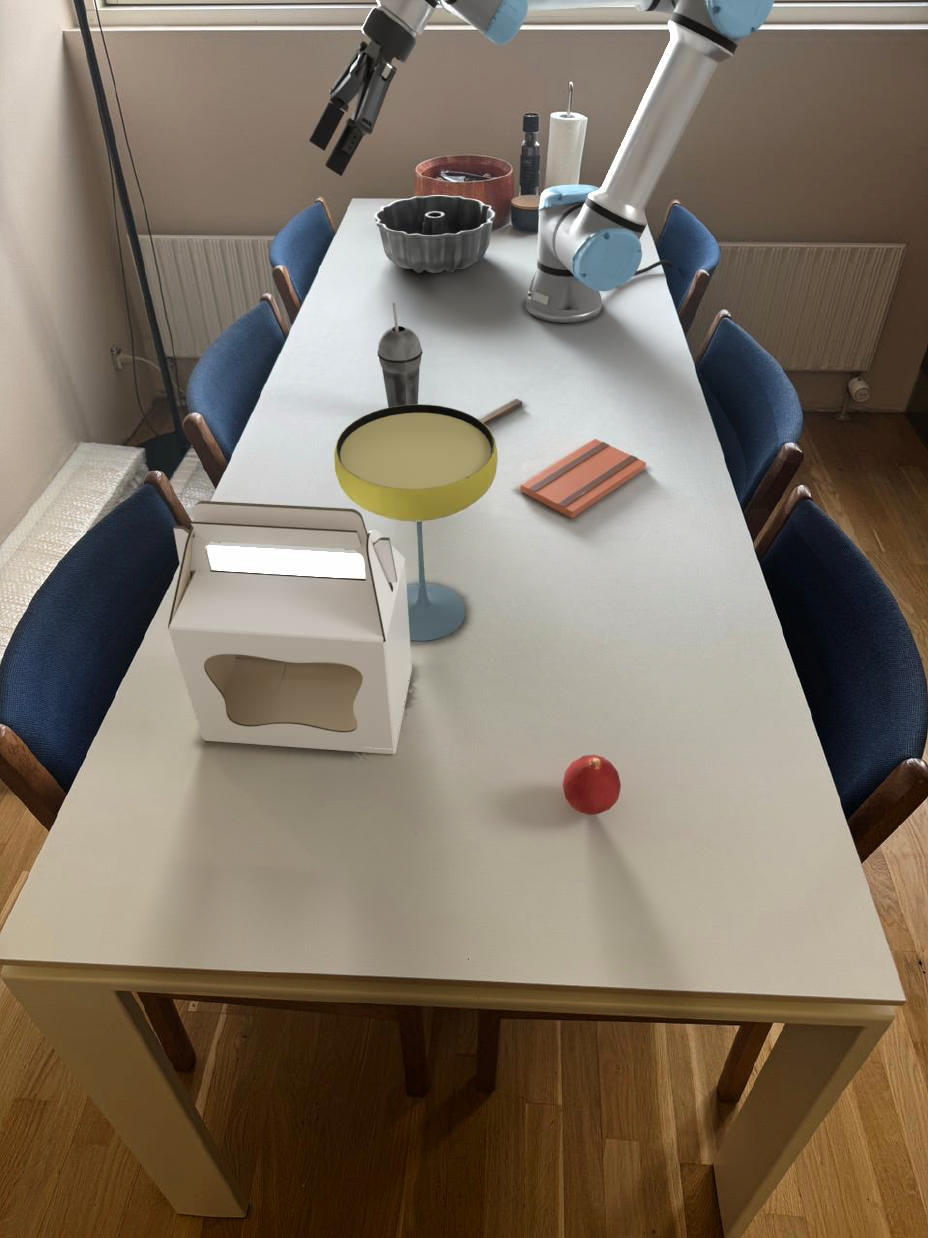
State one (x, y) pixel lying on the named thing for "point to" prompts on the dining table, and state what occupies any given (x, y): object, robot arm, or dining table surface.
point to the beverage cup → (400, 364)
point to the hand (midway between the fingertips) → (324, 157)
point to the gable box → (292, 628)
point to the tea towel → (583, 477)
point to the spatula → (501, 411)
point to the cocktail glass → (418, 485)
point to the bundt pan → (435, 232)
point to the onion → (591, 784)
